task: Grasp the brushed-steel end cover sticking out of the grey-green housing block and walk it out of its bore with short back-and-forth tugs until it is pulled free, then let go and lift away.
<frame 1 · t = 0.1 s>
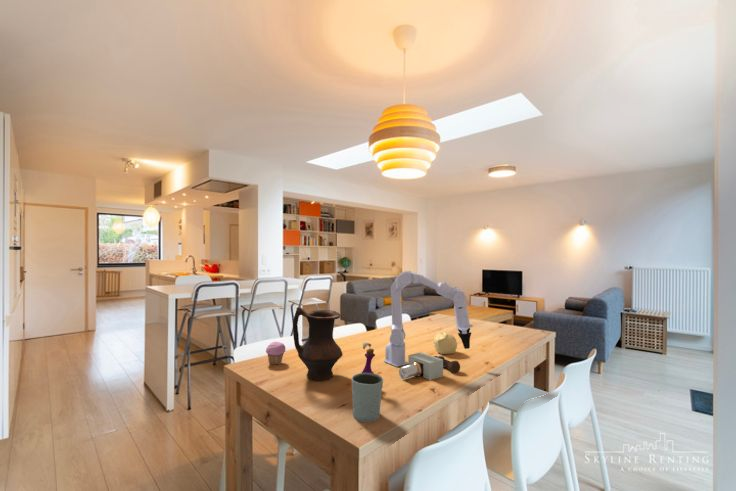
hand: (466, 346, 152), 11 cm above the table, tool pointing down, fingers open, 7 cm apart
housing: (425, 373, 146), on the table
perfume bottle: (367, 390, 128), on the table
grey-green cup: (367, 416, 108), on the table
bolt: (444, 368, 154), on the table
jug: (317, 377, 141), on the table
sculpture: (445, 353, 177), on the table
cupcake: (275, 363, 157), on the table
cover: (414, 369, 142), point 3 cm above the table, slide at 0.0 cm
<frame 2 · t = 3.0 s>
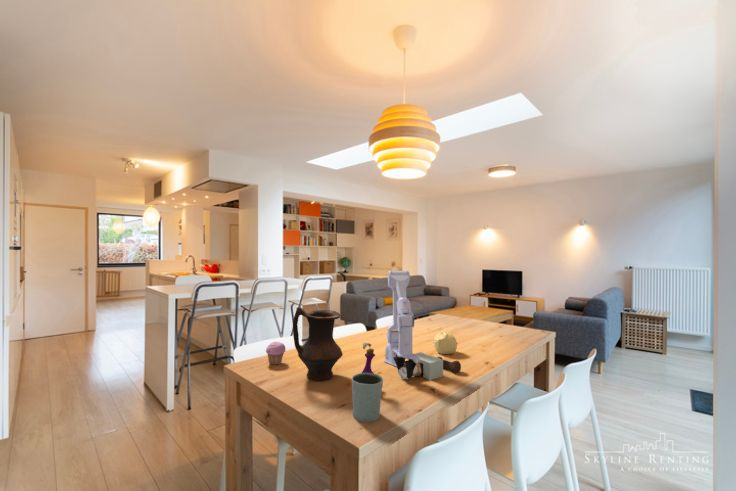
hand: (405, 375, 139), 2 cm above the table, tool pointing down, fingers closed on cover, 5 cm apart
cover: (414, 369, 142), point 3 cm above the table, slide at 0.0 cm, touching gripper
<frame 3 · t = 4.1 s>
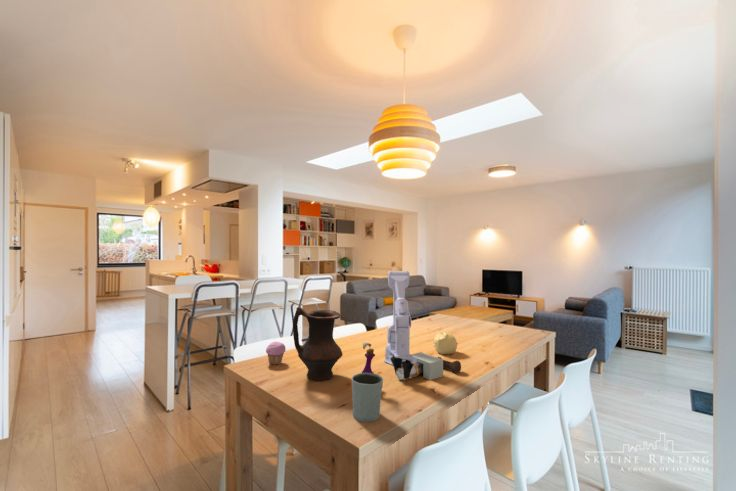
hand: (402, 376, 138), 2 cm above the table, tool pointing down, fingers closed on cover, 5 cm apart
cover: (412, 370, 141), point 3 cm above the table, slide at 1.6 cm, touching gripper
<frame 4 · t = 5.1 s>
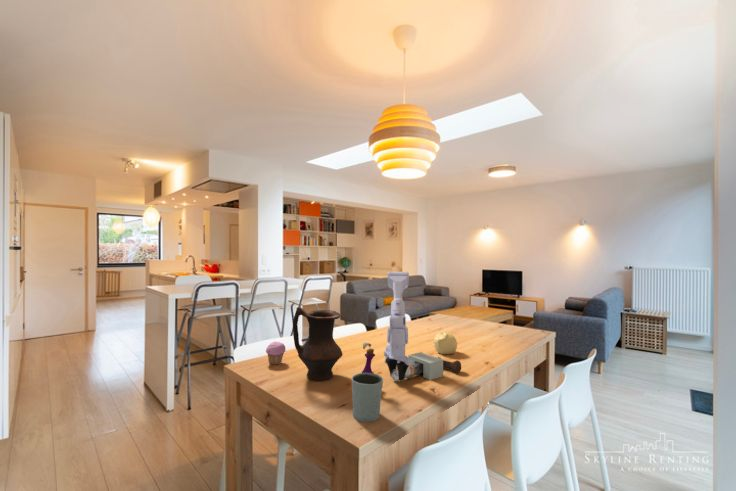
hand: (397, 378, 136), 2 cm above the table, tool pointing down, fingers closed on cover, 5 cm apart
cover: (407, 371, 140), point 3 cm above the table, slide at 4.2 cm, touching gripper
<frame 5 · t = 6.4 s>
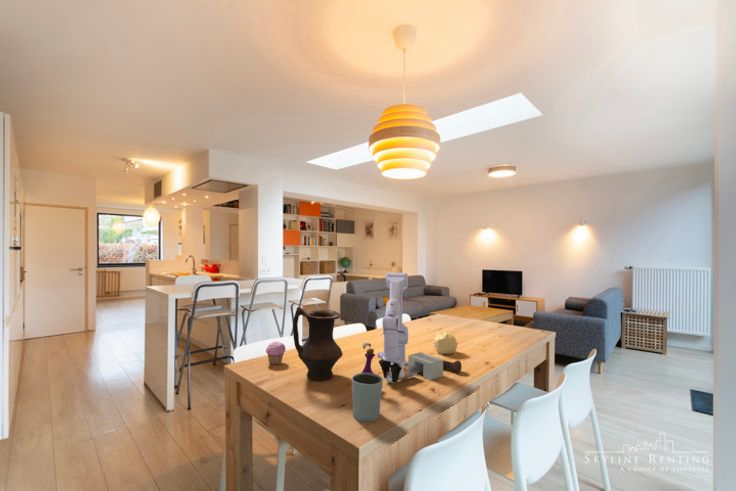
hand: (390, 379, 134), 2 cm above the table, tool pointing down, fingers closed on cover, 5 cm apart
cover: (401, 373, 138), point 3 cm above the table, slide at 7.5 cm, touching gripper
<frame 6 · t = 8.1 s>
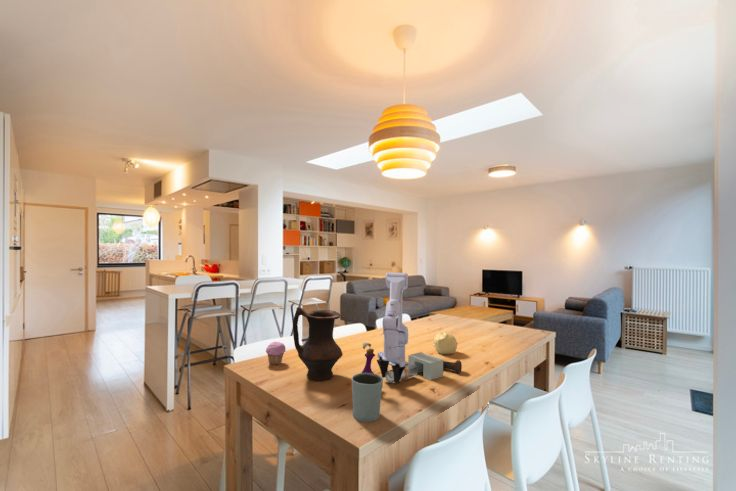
hand: (390, 379, 134), 2 cm above the table, tool pointing down, fingers open, 7 cm apart
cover: (401, 373, 138), point 3 cm above the table, slide at 7.5 cm
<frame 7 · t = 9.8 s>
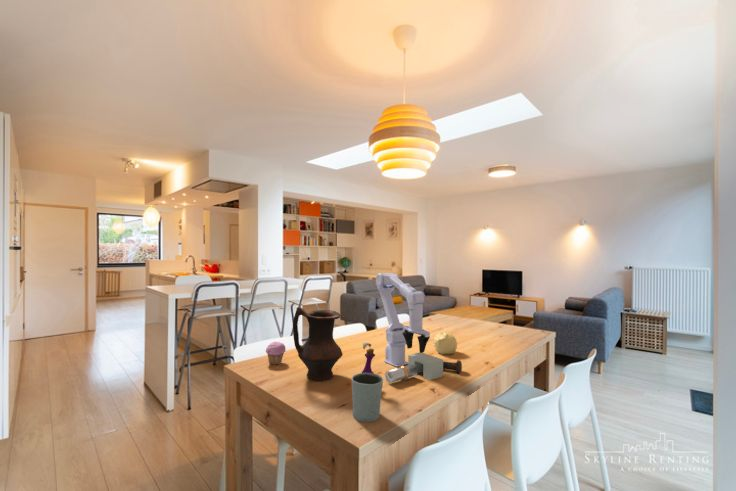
hand: (415, 350, 147), 10 cm above the table, tool pointing down, fingers open, 7 cm apart
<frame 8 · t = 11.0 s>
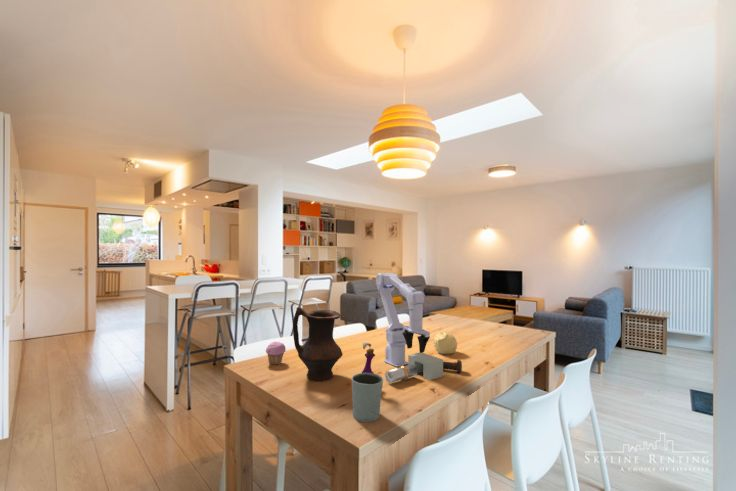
hand: (415, 350, 147), 10 cm above the table, tool pointing down, fingers open, 7 cm apart
at the end: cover slide at 7.5 cm; the gripper is holding nothing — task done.
